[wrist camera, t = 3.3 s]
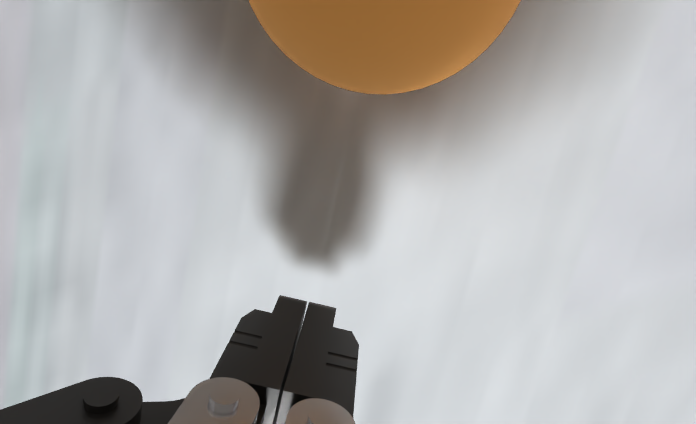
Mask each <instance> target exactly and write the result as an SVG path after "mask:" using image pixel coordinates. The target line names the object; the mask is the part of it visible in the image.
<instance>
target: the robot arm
mask: <svg viewBox="0 0 696 424" xmlns="http://www.w3.org/2000/svg"><path fill="white" fill-rule="evenodd" d="M306 304H307V301H303V300H299V299H294V298H290V297H286V296H281V295H280V296H279V298H278V300H277V303H276V305H275V308H274V310H273V312H272V313H269V312H265V311H260V310H256V309H255V310H253V311H252V312H250V313H248V314H247V315H245V316H244V317H242V318H241V320H240V322H239V324H238V325H237V327H236V329H235V332H234V333H233V335H232V337H231V339H230V341H229V343H228V345H227V346H226V348H225V350H224V352H223V354H222V356H221V358H220V360H219V362H218V364H217V365H216V367H215V369H214V371H213V373H212V375H211V377H210V379H207V380H205V381H202V382H201V383H199V384H197V385H196V386H195V387H193V389H192V390H191V391H190V392H189V394H188V395H187V397H186V398H184V399H180V400H175V401H166V402H142V394H141V392H140V390H139V389H138V387H136V386H135V385H134V384H133V383H131V382H129V381H127V380H124V379H121V378H115V377H99V378H93V379H89V380H86V381H83V382H80V383H77V384H74V385H71V386H68V387H65V388H62V389H60V390H57V391H54V392H51V393H48V394H45V395H42V396H39V397H36V398H33V399H31V400H28V401H25V402H22V403H19V404H16V405H13V406H10V407H7V408H4V409H2V410H0V424H355V421H354V419H353V411H354V398H355V386H356V374H357V372H356V371H357V362H358V361H357V360H358V349H359V344H358V342H357V340H356V339H355V337H354V335H353V333H352V331H347V330H343V329H339V328H334V327H333V323H334V317H335V312H336V308H334V307H329V306H325V305H321V304H316V303H312V302H309V304H308V308H307V311H306V315H305V318H304V314H305V309H306ZM303 318H304V321H303ZM302 323H303V325H302Z"/></svg>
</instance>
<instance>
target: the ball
mask: <svg viewBox="0 0 696 424" xmlns="http://www.w3.org/2000/svg"><path fill="white" fill-rule="evenodd" d="M520 1H521V0H249V2H250V5H251V7H252V9H253V11H254V13H255V15H256V17H257V18H258V20H259V22H260V24H261V25H262V27H263V28H264V30H265V31H266V32H267V34H268V35H269V37H270V38H271V39H272V41H273V42H274V43H275V44H276V45H277V46H278V47H279V48H280V50H281V51H282V52H283V53H284V54H285V55H286V56H287V57H288V58H290V59H291V60H292V61H293V62H294V63H296V64H297V65H298V66H299V67H300V68H302V69H303V70H305V71H307V72H308V73H310V74H311V75H313V76H314V77H316V78H318V79H320V80H322V81H324V82H327V83H329V84H331V85H333V86H336V87H340V88H343V89H346V90H349V91H354V92H360V93H366V94H396V93H405V92H409V91H414V90H418V89H422V88H425V87H427V86H430V85H433V84H435V83H438V82H440V81H442V80H444V79H446V78H448V77H450V76H452V75H454V74H456V73H457V72H459V71H460V70H462V69H463V68H464V67H466V66H467V65H469V64H470V63H472V62H473V61H474V60H475V59H476V58H477V57H478V56H480V55H481V54H482V53H483V52H484V51H485V50H486V49H487V48H488V47H489V46H490V45H491V44H492V43H493V41H494V40H495V39H496V38H497V37H498V36H499V35H500V33H501V32H502V31H503V29H504V28H505V26H506V25H507V23H508V22H509V20H510V19H511V17H512V16H513V14H514V12H515V11H516V9H517V7H518V5H519V3H520Z"/></svg>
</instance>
